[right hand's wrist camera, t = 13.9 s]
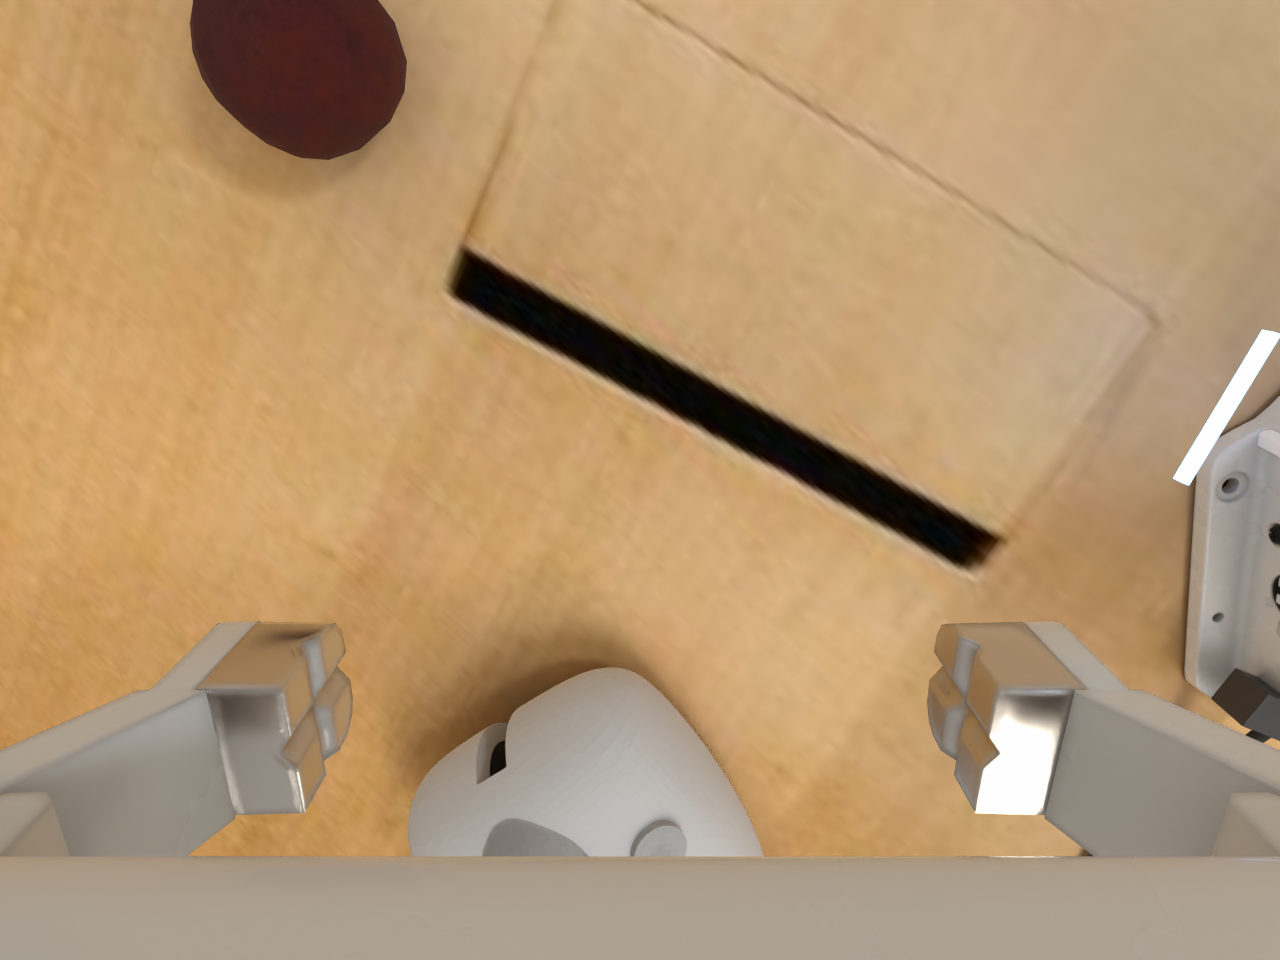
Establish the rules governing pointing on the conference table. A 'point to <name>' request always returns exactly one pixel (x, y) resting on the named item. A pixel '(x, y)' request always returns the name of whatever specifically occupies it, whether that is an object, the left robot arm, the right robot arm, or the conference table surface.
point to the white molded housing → (583, 781)
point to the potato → (302, 69)
